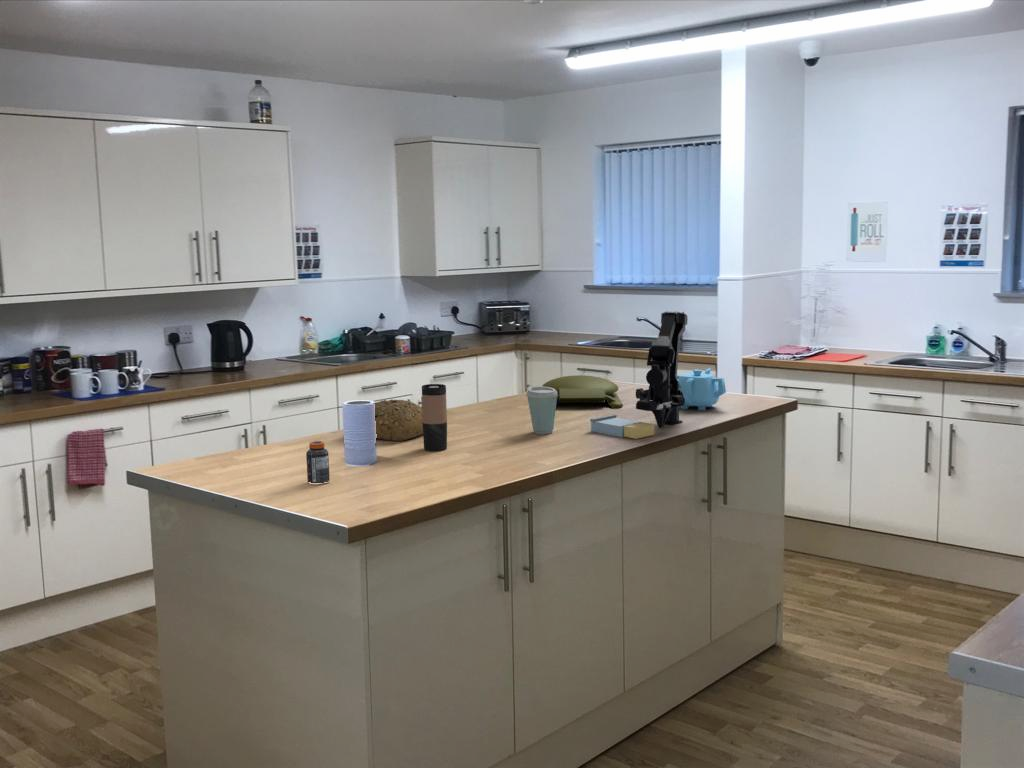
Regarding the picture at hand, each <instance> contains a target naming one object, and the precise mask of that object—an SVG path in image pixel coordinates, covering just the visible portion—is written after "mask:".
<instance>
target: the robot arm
mask: <svg viewBox="0 0 1024 768" xmlns="http://www.w3.org/2000/svg"><path fill="white" fill-rule="evenodd" d="M660 315H661V317H660V325H661V326H660V328H659V333H658V336H657V338H655V339H654V340H652V343H651V346H650V347H648V348H649V349H648V353H647V361H646V366H647V367H648V366H649V367H651V368H650V370H648V371H647V373H646V376H645V379H646V383H648V389H645V390H644V389H643V388H636V389H635V398H636V399H637V401H636V402H635V409H636V410H639V411H640V410H641V411H645V412H646V411H647V412H652V414H653V415H654V419H655V422H656V425H657V427H658V429H663V427H664V426H665V424H666V425H674V424H679V423H680V424H681V423H683V420H682V419H681V420H680V408H681V407H682V406H684V404H685V398H684V396H683V393H682V389H681V386H680V384H679V382H678V380H679V379H677V375H678V367H679V366H678V365H679V352H680V339H681V337H682V335H683V334H684V333H685V331H686V325H688V314H686V313H685V311H673V310H672V311H663V312H662V313H661V314H660Z"/></svg>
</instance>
